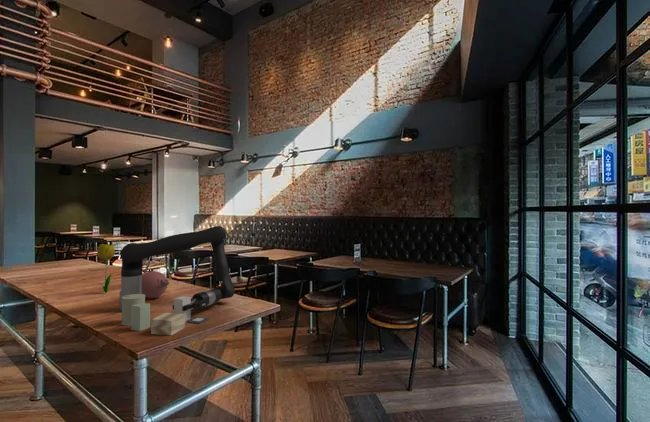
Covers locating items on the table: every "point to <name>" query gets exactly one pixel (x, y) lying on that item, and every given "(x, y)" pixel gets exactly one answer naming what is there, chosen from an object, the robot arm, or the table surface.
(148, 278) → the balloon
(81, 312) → the table surface
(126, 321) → the can
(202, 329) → the table surface
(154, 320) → the base block
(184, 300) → the grey block
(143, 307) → the sage block
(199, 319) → the card
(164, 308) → the table surface
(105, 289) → the flower
